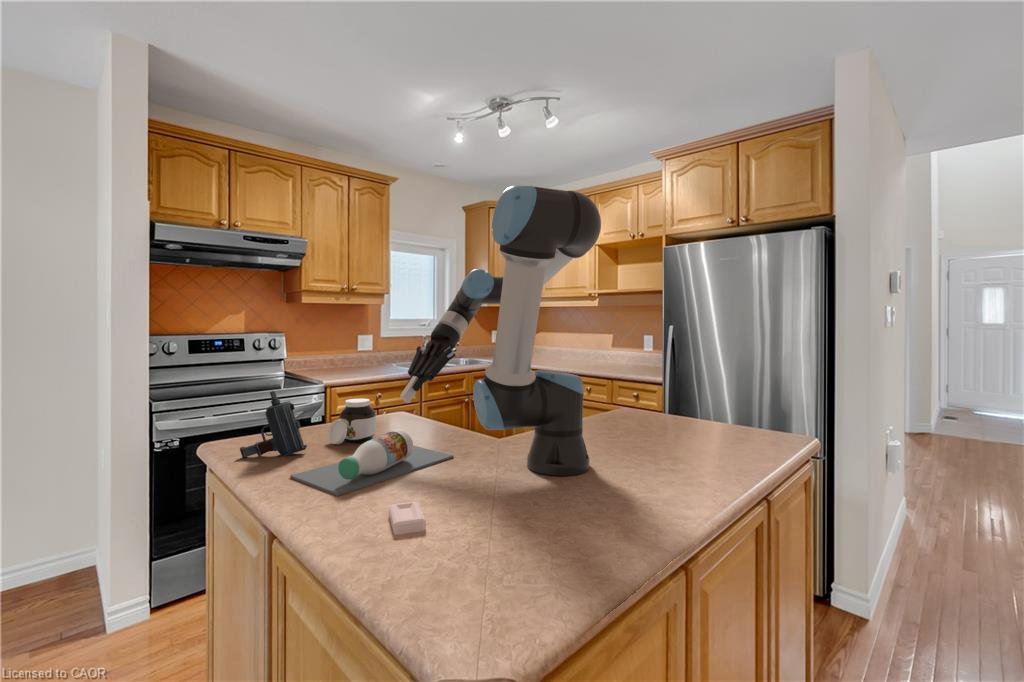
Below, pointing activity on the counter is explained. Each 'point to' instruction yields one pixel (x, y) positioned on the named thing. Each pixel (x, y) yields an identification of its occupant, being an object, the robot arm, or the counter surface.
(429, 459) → the rubber mat
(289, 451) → the gun
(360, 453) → the milk bottle
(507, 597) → the counter surface
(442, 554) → the counter surface
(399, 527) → the soap bar
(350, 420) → the spread jar
